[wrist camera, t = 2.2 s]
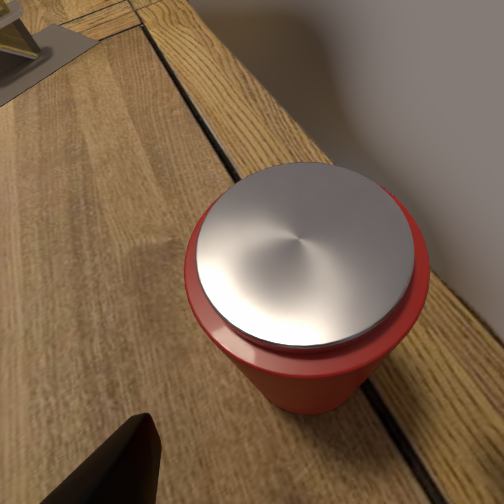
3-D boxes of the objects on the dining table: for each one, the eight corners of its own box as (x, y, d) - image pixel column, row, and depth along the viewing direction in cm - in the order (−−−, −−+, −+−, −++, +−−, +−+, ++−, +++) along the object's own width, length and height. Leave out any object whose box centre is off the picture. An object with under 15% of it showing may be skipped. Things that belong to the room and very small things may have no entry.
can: (374, 414, 16) (482, 370, 6) (246, 415, 17) (157, 376, 7) (354, 294, 19) (403, 137, 9) (248, 300, 20) (188, 161, 10)
